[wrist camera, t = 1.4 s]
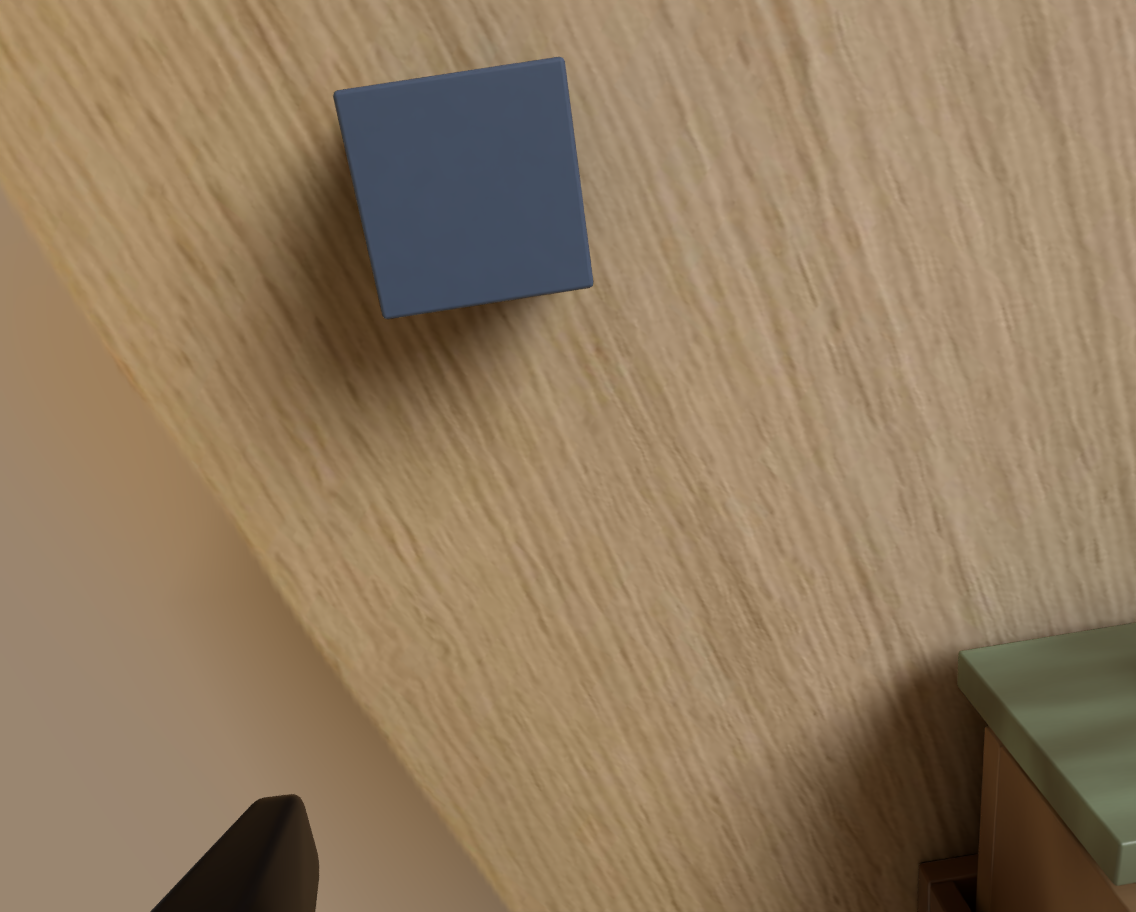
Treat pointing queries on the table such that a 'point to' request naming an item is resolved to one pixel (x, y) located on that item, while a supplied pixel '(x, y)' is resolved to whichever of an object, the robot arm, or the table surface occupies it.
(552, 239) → the block
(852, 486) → the table surface
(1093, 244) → the table surface
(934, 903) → the cabinet
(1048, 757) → the drawer
